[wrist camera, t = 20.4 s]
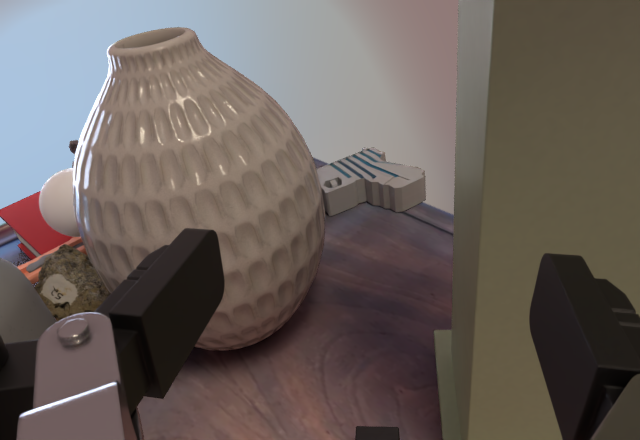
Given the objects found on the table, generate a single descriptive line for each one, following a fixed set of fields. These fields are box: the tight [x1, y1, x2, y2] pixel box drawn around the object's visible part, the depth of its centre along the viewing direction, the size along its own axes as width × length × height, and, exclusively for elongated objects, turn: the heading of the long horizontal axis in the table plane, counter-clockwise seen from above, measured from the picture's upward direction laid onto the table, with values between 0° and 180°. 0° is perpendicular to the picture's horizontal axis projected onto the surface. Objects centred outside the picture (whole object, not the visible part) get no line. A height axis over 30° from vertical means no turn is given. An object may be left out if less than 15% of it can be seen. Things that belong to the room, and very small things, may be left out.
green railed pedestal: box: [434, 0, 640, 440], centre depth 19 cm, size 14×14×33 cm
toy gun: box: [316, 147, 426, 216], centre depth 50 cm, size 3×14×10 cm
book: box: [0, 191, 73, 260], centre depth 49 cm, size 18×13×5 cm
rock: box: [35, 244, 111, 322], centre depth 36 cm, size 6×9×10 cm
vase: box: [73, 27, 325, 351], centre depth 32 cm, size 16×16×22 cm
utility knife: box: [17, 237, 87, 284], centre depth 40 cm, size 4×1×18 cm
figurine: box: [39, 168, 81, 237], centre depth 40 cm, size 8×6×12 cm
